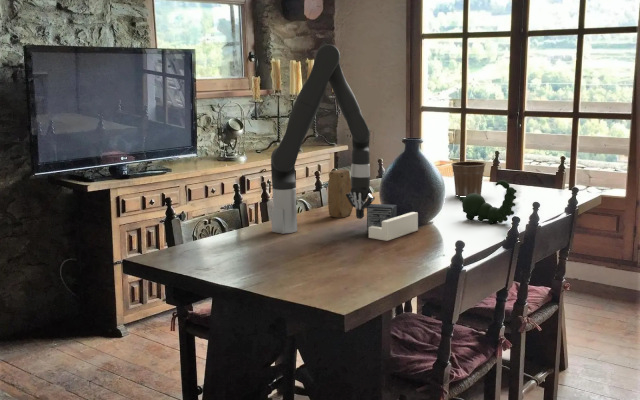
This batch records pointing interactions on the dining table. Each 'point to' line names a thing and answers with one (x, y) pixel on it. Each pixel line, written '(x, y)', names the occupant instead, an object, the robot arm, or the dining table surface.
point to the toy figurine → (489, 206)
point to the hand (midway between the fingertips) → (359, 218)
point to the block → (339, 193)
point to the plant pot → (468, 177)
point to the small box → (379, 214)
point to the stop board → (395, 227)
